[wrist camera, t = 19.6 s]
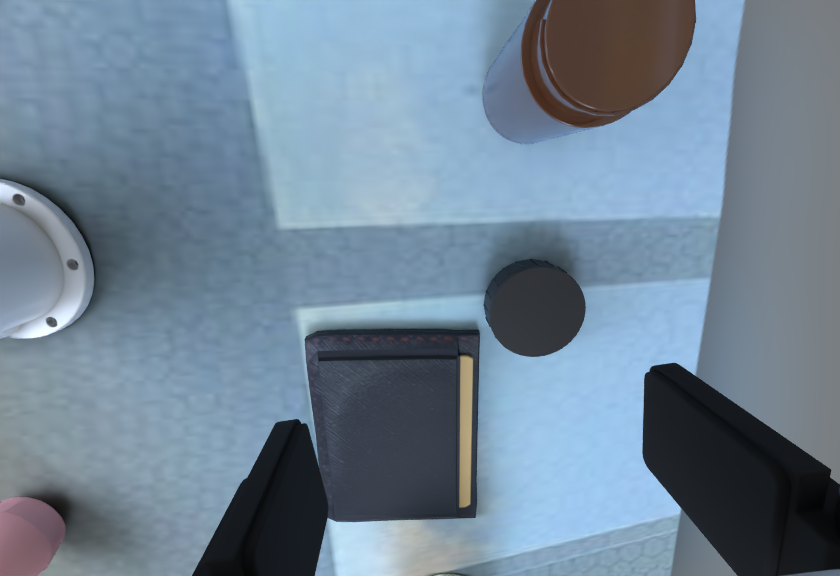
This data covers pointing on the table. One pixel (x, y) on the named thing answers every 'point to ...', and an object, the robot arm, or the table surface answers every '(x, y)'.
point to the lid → (534, 308)
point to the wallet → (396, 422)
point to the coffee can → (447, 575)
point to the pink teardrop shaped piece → (28, 536)
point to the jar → (584, 65)
